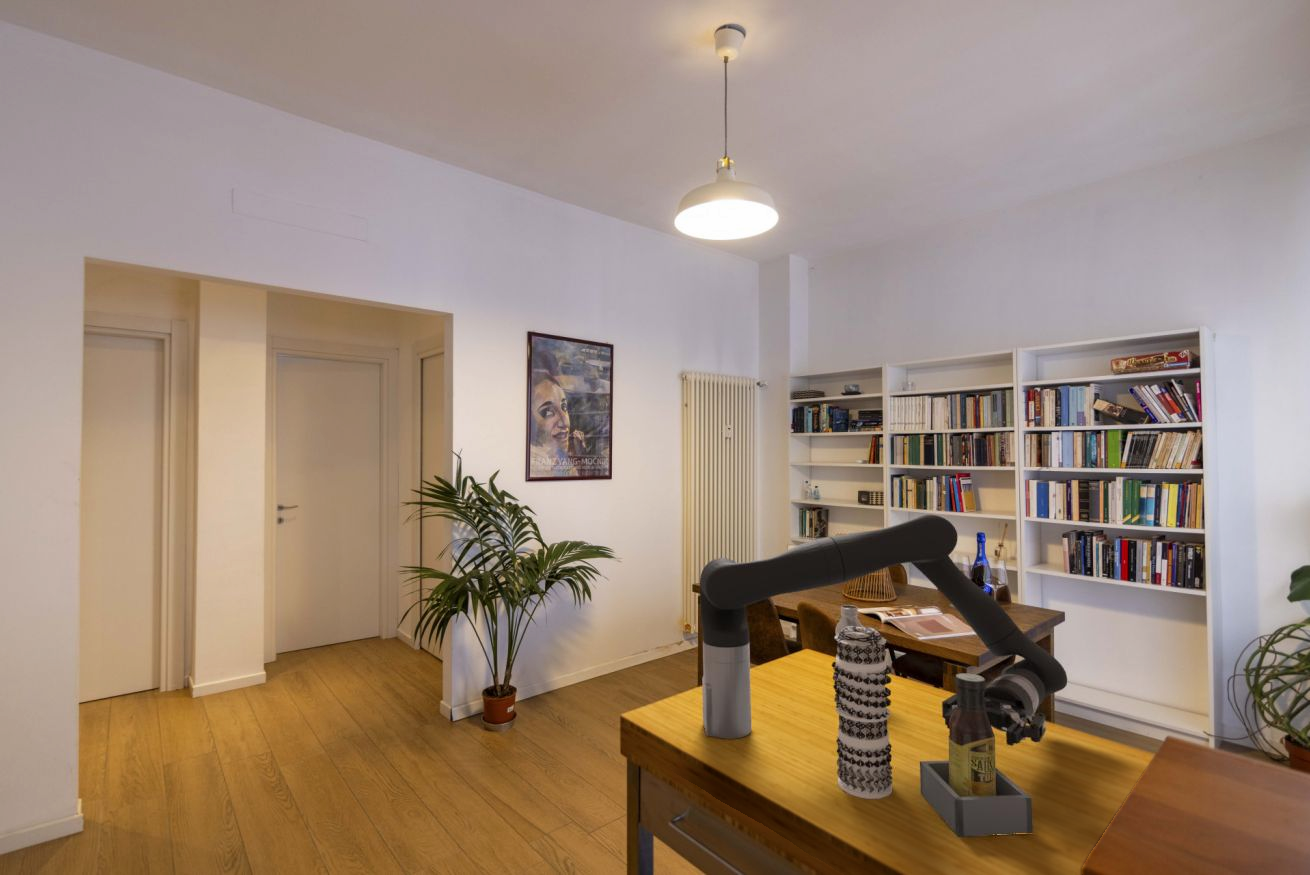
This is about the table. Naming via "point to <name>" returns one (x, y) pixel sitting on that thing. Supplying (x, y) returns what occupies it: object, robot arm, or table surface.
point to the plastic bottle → (847, 618)
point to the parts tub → (976, 804)
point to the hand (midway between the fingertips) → (978, 730)
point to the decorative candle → (862, 713)
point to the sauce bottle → (971, 741)
